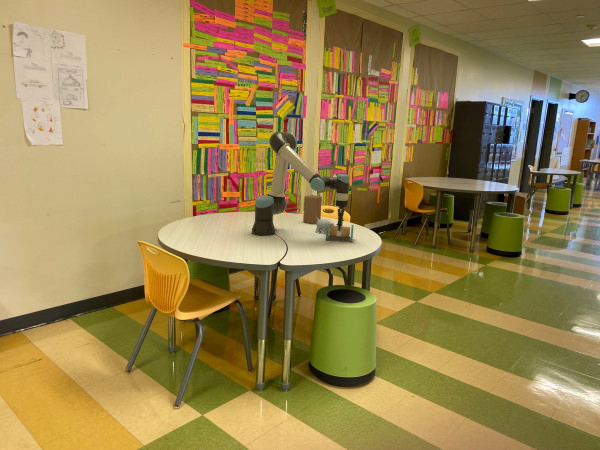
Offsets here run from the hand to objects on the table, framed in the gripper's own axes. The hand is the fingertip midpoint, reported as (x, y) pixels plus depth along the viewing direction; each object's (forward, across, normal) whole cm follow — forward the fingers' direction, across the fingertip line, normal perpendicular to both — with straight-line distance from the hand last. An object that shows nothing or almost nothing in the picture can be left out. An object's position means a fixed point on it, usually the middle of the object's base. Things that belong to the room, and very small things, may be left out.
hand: (339, 233), depth 267 cm
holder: (+4, 0, 0) cm, 4 cm away
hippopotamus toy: (+4, +18, +10) cm, 21 cm away
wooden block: (+4, +50, +23) cm, 55 cm away
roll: (+2, 0, 0) cm, 2 cm away
